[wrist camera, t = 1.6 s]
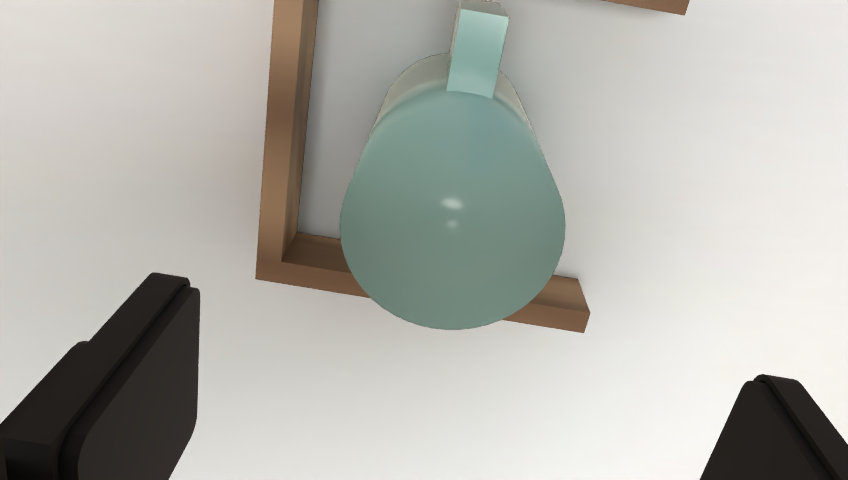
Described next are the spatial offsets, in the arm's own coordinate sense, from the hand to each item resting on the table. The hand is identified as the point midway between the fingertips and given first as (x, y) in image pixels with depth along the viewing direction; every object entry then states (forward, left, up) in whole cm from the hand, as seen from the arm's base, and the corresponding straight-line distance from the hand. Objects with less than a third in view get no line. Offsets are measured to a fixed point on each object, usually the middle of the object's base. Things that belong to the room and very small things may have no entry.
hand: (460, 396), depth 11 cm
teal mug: (+1, 0, -18) cm, 18 cm away
